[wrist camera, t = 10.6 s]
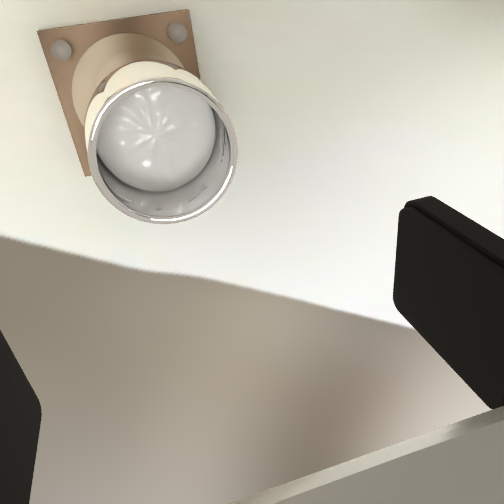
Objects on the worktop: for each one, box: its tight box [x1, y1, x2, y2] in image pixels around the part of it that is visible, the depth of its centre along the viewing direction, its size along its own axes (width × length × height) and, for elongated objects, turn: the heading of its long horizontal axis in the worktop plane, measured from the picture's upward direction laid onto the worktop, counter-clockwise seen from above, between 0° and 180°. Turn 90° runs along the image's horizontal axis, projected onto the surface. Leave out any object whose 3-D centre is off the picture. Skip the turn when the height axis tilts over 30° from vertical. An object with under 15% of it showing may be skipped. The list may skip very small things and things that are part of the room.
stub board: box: [37, 9, 200, 176], centre depth 32 cm, size 10×10×3 cm
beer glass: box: [84, 49, 238, 224], centre depth 26 cm, size 7×7×15 cm
